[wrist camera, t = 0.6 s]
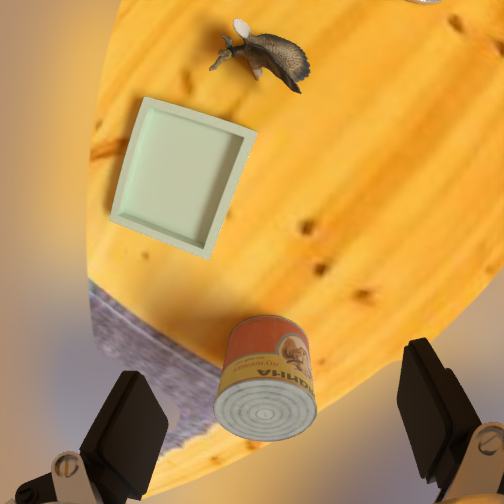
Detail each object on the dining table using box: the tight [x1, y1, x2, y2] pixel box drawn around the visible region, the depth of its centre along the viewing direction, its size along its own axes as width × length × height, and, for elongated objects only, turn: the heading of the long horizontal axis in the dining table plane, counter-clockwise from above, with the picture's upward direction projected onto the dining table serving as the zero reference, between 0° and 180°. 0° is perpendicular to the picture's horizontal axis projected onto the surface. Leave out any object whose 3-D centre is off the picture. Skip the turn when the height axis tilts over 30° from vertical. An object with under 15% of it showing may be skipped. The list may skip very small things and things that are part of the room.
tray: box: [109, 96, 258, 260], centre depth 33 cm, size 15×13×2 cm
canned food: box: [213, 315, 317, 442], centre depth 36 cm, size 11×11×12 cm
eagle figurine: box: [209, 18, 310, 94], centre depth 26 cm, size 8×7×9 cm
